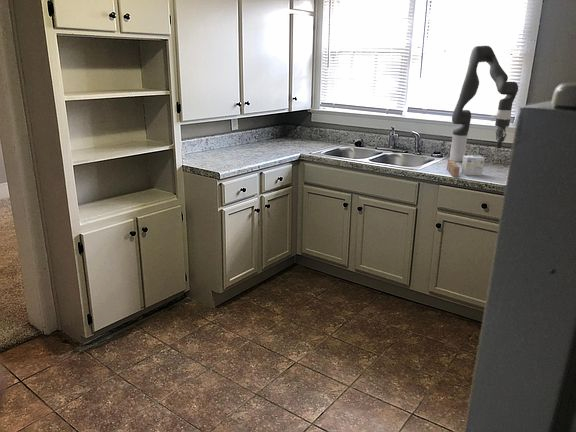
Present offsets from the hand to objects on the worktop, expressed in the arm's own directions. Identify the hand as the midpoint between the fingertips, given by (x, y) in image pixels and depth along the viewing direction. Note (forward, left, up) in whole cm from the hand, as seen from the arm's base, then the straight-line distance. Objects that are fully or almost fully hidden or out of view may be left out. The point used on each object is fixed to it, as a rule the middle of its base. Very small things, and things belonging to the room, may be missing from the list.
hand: (498, 148), depth 278 cm
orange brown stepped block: (0, -24, -16) cm, 29 cm away
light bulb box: (0, -13, -16) cm, 21 cm away
